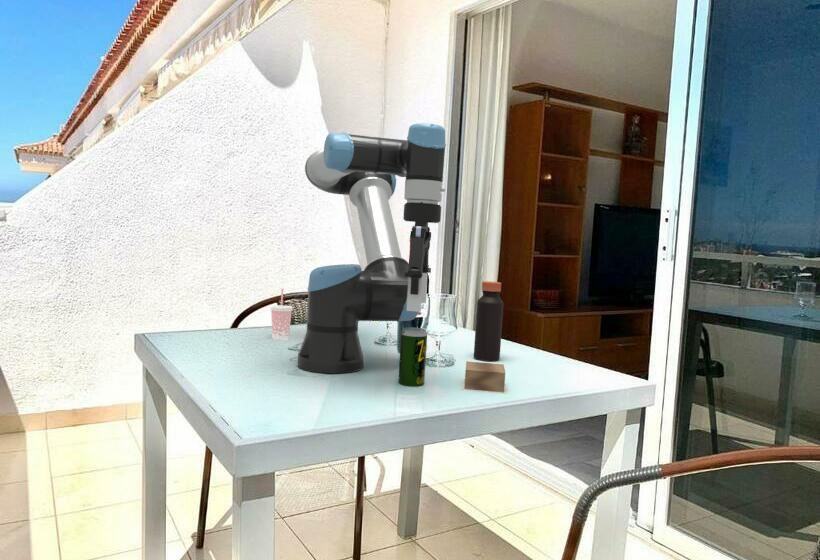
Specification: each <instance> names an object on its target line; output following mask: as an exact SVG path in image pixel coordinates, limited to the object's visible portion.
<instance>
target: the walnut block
mask: <svg viewBox="0 0 820 560" xmlns="http://www.w3.org/2000/svg"><path fill="white" fill-rule="evenodd" d="M464 379H465V386H464V389H470V390H469V391H472V390H482V391H481V392H483V391H494V392H493V393H495V392H504V385H505V386H506V383H505V382H506V381H505V380H506V369H505V364H504V363H493V362H492V363H490V362H481V361H466V363H465V374H464Z"/></svg>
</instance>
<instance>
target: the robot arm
mask: <svg viewBox="0 0 820 560" xmlns="http://www.w3.org/2000/svg"><path fill="white" fill-rule="evenodd" d="M446 145H447V143H446V130H445V128H444V127H443V126H441V125H440V124H436V123H427V122H426V123H421V122H420V123H413V124H411V125H410V126H409V127H408V133H407V137H406V139H397V138H387V137H379V136H378V137H376V136H367V135H358V134H350V133H347V132H341V133H340V132H330V133H328V134H327V136H326V137H325V140H324V145H323V146H324V147H323V149H318V150H316V151H314V152H313V153H312V154H310V155H309V157H308V158H307V159H306V161H305V164H304V165H305V166H304V172H305V176H306V177H307V180H308V181H309V183H311V185H313V186H314V187H316V188H317V189H318V190H320V191H322V192H326V193H328V194H333V195H345V196H349V198H348V199H349V200H350V202H351V204H352V205H353V206H355V207H356V208H357V215H358V220H359V226H360V232H361V235H362V236H361V237H362V241H363V248H364V252H365V253H364V254H365V257H366V258H365V259H366V263H367V265H366V266H365V267H364V269H363V268H362V266H361V265H360V264H356V263H353V264H352V263H351V264H349V263H347V264H345V263H343V264H333V265H325V266H319V267H316V268H314V269H313V270H311V272H310V274H309V276H308V277H309V279H308V284H307V285H308V287H307V291H308V293H307V294H308V295H307V296H308V297H307V314H306V315H307V316H306V317H307V318H306V332H305V335H304V338H303V341H302V343H301V346H300V349H299V351H298V355H297V363H296V364H297V367H298V368H300V369H302V370H305V371H308V372H313V373H323V374H345V373H346V374H347V373H354V372H357V371H360V370H362V369H363V368H364V365H365V364H364V363H365V357H364V352H363V349H362V345H361V341H360V339H359V338H360V337H359V333H358V331H359V322H397V323H400V322H406V321H407V322H408V321H409V322H410V321H413V320H415V318H417V316H418V315H419V313H420V312H421V310H422V304H427V292H428V291H427V288H428V274H429V273H430V274H431V273H432V268H431V267H430V265H429V251H430V248H431V247H430V246H431V245H430V244H431V240H432V232H431V228H430V226H429V223H430V224H439V223H440V222H441V216H442V206H441V205H440V204H439V203H441V202H442V195H443V194H442V193H444V192H446V187H445V186H443V181H444V168H445V167H444V166H445V157H446V156H445V155H446V154H445V153H446ZM396 177H399V178H400V177H401V178H405V180H404V194H403V195H404V197H403V198H404V200H405V201H406V202H405V203H404V205H403V220H404V221H405V222H413V223H414V225H412V227H411V231H410V244H409V245H410V246H409V248H410V252H409V260H408V261H407V260H406V259H405V258H403V257H402V254H401V249H400V245H399V241H398V236H397V232H396V228H395V223H394V219H393V214H392V210H391V206H390V203H389V201H390V199H391V197H392V196H393V195H394V193H395V191H396V186H397V178H396ZM362 269H363V270H362Z"/></svg>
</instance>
